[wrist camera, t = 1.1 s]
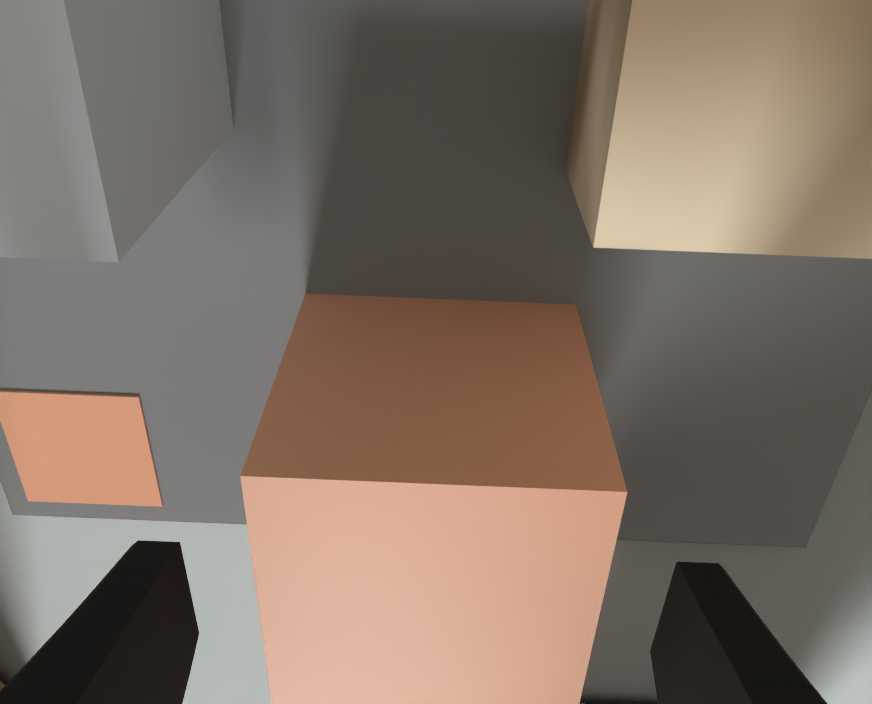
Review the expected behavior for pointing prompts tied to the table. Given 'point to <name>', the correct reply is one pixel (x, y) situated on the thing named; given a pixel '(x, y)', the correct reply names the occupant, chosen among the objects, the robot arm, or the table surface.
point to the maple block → (726, 126)
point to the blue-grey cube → (103, 119)
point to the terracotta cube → (432, 504)
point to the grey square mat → (420, 283)
